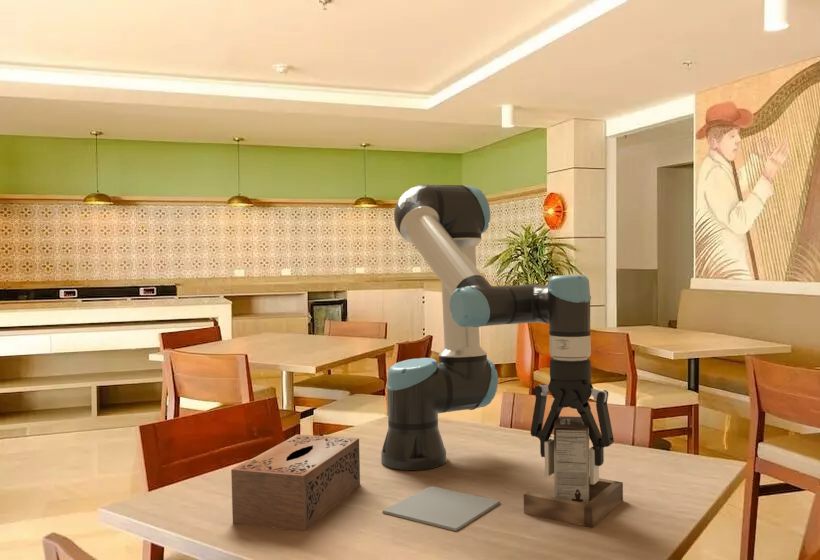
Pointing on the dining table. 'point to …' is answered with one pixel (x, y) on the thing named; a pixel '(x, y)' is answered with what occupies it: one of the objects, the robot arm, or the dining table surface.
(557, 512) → the wooden u-shaped frame
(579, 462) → the coffee box
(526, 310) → the robot arm
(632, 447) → the dining table surface
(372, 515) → the dining table surface
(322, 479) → the tissue box cover
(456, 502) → the grey mat
